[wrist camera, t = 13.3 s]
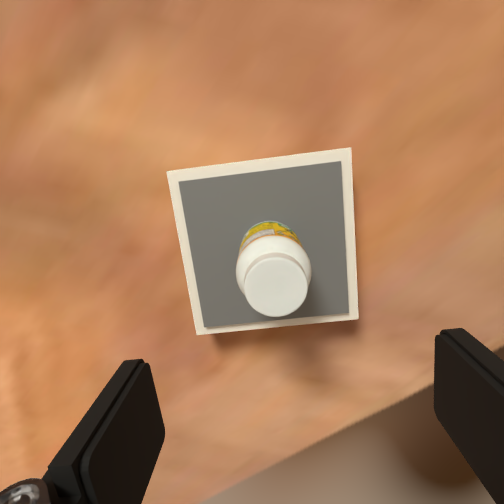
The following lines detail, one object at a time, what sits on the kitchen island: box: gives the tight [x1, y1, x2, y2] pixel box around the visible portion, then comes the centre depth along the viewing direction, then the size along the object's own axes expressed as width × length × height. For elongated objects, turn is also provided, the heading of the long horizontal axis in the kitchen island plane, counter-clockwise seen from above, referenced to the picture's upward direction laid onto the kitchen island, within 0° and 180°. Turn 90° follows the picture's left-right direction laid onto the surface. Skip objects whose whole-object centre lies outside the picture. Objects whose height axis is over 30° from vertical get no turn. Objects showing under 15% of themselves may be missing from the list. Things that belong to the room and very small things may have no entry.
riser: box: [167, 147, 359, 335], centre depth 32 cm, size 16×16×5 cm
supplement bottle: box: [236, 221, 311, 317], centre depth 25 cm, size 5×5×10 cm
